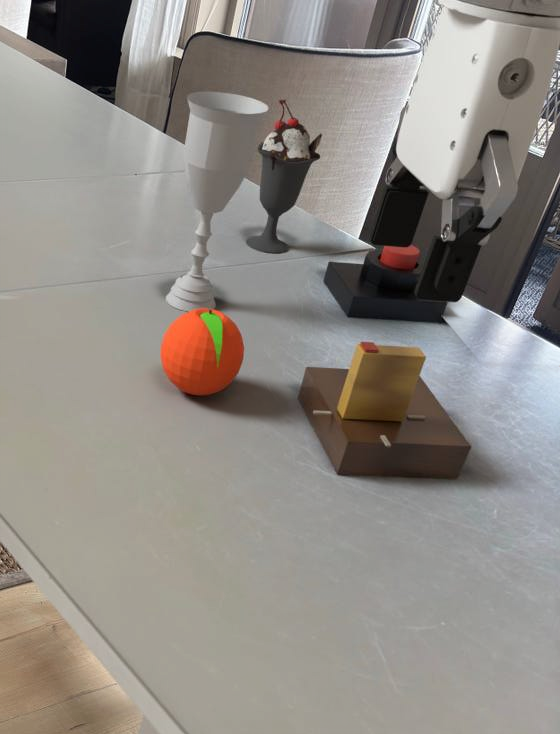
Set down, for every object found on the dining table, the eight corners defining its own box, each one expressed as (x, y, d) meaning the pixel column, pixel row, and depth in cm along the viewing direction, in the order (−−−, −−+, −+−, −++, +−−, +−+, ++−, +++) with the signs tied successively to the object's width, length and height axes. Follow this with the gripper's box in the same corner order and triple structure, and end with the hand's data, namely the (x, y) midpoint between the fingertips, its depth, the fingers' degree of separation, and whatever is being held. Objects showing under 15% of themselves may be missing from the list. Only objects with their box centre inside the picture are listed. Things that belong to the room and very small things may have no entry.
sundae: (225, 240, 111) (255, 94, 101) (262, 231, 115) (294, 89, 105) (270, 261, 108) (305, 112, 98) (307, 250, 112) (344, 106, 102)
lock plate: (406, 403, 86) (418, 370, 83) (460, 483, 76) (475, 448, 74) (279, 397, 84) (288, 363, 82) (319, 478, 75) (330, 442, 73)
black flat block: (410, 287, 106) (422, 250, 104) (440, 323, 100) (454, 285, 97) (322, 281, 105) (333, 244, 102) (347, 317, 98) (359, 278, 96)
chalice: (216, 288, 100) (255, 94, 88) (235, 317, 95) (279, 116, 83) (147, 286, 99) (178, 89, 87) (163, 315, 94) (197, 110, 82)
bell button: (407, 259, 102) (412, 242, 101) (419, 273, 100) (425, 256, 99) (374, 257, 102) (380, 240, 101) (386, 270, 99) (391, 253, 98)
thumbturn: (396, 411, 78) (420, 344, 74) (402, 421, 76) (427, 353, 73) (336, 408, 77) (357, 340, 73) (342, 419, 76) (364, 350, 72)
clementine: (247, 418, 81) (267, 336, 76) (166, 416, 79) (181, 334, 75) (222, 372, 86) (239, 294, 82) (147, 370, 85) (159, 290, 80)
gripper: (641, 22, 52) (510, 327, 63) (507, -31, 65) (418, 231, 76) (511, 6, 51) (402, 319, 62) (401, -46, 64) (327, 222, 75)
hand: (411, 270), depth 69 cm, fingers open, 9 cm apart
